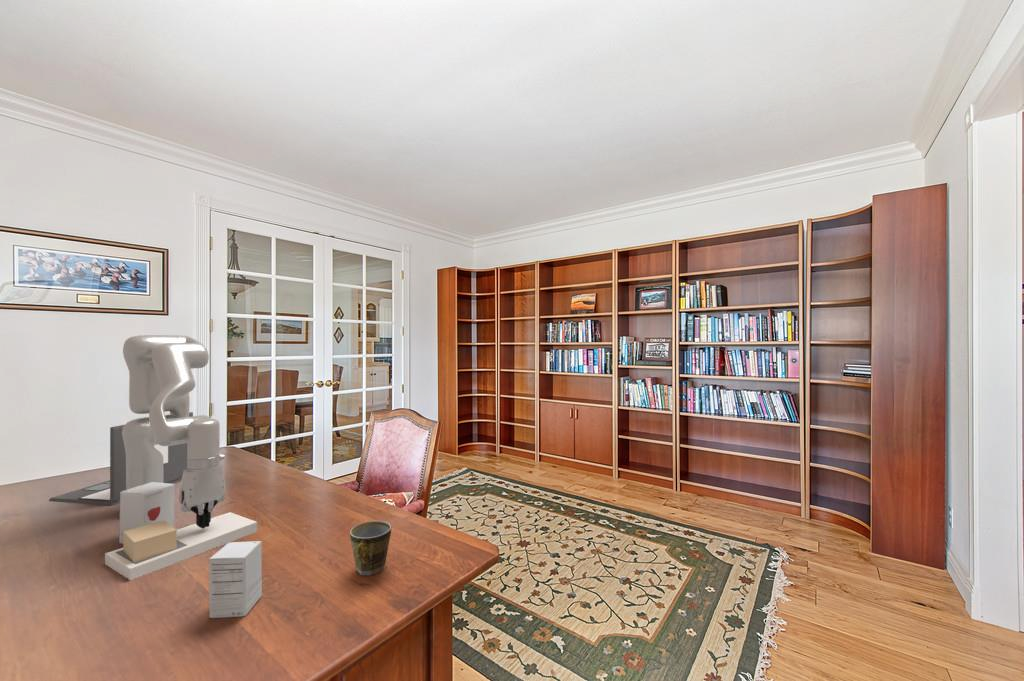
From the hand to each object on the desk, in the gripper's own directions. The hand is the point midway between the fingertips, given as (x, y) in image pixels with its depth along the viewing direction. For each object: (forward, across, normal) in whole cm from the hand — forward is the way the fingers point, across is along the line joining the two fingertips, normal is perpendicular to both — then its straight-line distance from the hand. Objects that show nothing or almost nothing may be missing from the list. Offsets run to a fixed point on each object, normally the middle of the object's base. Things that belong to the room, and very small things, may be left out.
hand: (203, 526), depth 121 cm
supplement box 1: (+4, +7, -16) cm, 18 cm away
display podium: (+4, +4, 0) cm, 6 cm away
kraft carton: (+1, +13, 0) cm, 13 cm away
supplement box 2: (+4, +11, +40) cm, 42 cm away
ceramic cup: (+4, -13, +54) cm, 55 cm away
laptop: (+5, -6, -73) cm, 74 cm away
